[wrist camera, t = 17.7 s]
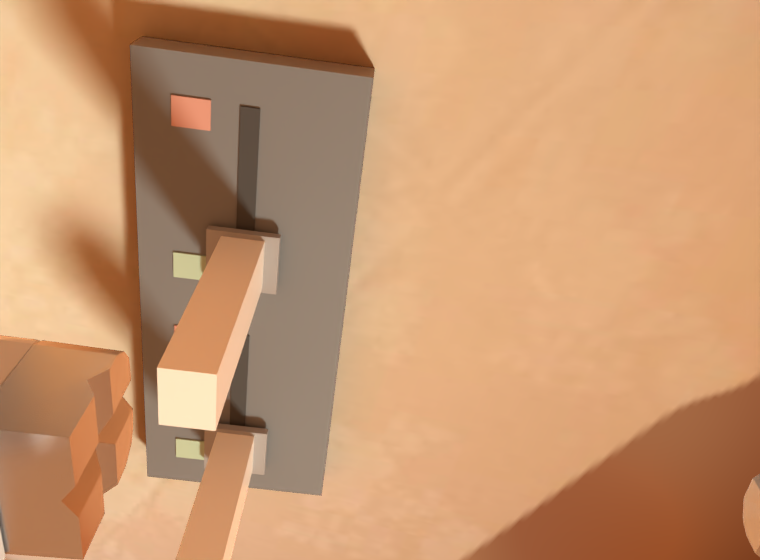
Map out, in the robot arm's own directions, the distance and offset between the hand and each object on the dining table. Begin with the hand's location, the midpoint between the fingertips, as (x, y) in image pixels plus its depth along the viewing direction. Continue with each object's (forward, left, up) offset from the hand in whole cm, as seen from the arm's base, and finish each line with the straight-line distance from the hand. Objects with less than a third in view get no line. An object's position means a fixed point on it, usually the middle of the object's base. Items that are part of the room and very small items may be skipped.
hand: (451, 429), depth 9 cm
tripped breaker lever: (+8, -14, -29) cm, 33 cm away
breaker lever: (+20, -21, -29) cm, 41 cm away
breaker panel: (+11, -16, -31) cm, 37 cm away
